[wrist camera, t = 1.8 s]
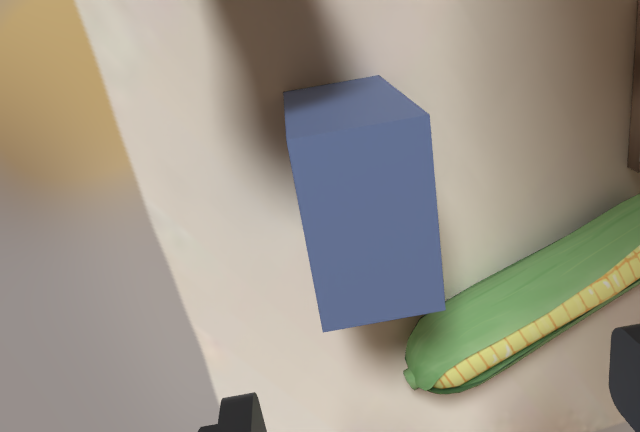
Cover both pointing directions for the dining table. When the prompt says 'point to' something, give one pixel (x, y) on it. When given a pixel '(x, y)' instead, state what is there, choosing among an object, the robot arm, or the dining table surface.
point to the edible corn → (526, 304)
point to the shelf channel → (635, 106)
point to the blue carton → (366, 201)
